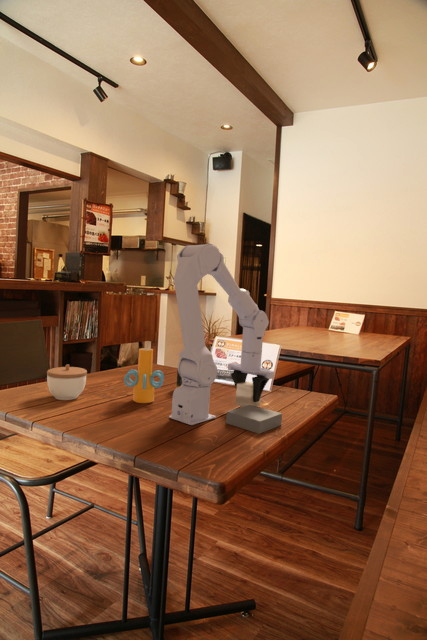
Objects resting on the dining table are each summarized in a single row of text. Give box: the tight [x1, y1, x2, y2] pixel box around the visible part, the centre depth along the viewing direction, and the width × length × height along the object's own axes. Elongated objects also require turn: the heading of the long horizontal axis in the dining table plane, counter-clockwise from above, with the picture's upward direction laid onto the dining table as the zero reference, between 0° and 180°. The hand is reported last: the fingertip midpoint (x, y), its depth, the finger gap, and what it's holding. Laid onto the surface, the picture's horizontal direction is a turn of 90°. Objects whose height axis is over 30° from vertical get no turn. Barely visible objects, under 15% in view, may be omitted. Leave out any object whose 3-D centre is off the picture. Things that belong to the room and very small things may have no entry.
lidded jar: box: [46, 364, 88, 401], centre depth 119 cm, size 11×11×9 cm
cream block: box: [235, 381, 262, 407], centre depth 118 cm, size 5×5×6 cm
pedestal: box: [225, 405, 283, 435], centre depth 105 cm, size 10×10×3 cm
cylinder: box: [123, 347, 165, 404], centre depth 120 cm, size 12×10×15 cm
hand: (248, 399), depth 118 cm, fingers closed on cream block, 5 cm apart
